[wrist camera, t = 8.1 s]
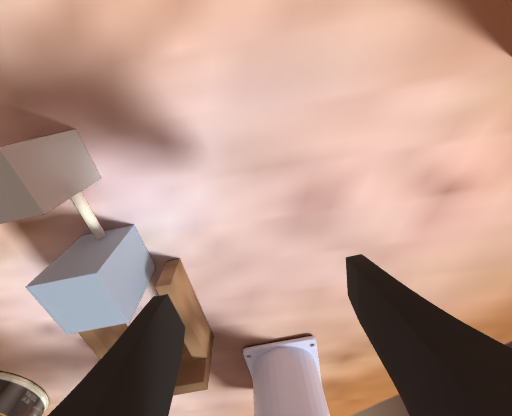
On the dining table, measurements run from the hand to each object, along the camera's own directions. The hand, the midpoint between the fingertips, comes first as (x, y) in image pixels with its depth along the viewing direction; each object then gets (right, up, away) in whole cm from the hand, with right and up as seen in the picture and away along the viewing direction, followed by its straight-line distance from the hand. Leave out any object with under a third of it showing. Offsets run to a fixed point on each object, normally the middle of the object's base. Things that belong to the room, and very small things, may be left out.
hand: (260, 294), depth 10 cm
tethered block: (-12, +3, +9) cm, 15 cm away
